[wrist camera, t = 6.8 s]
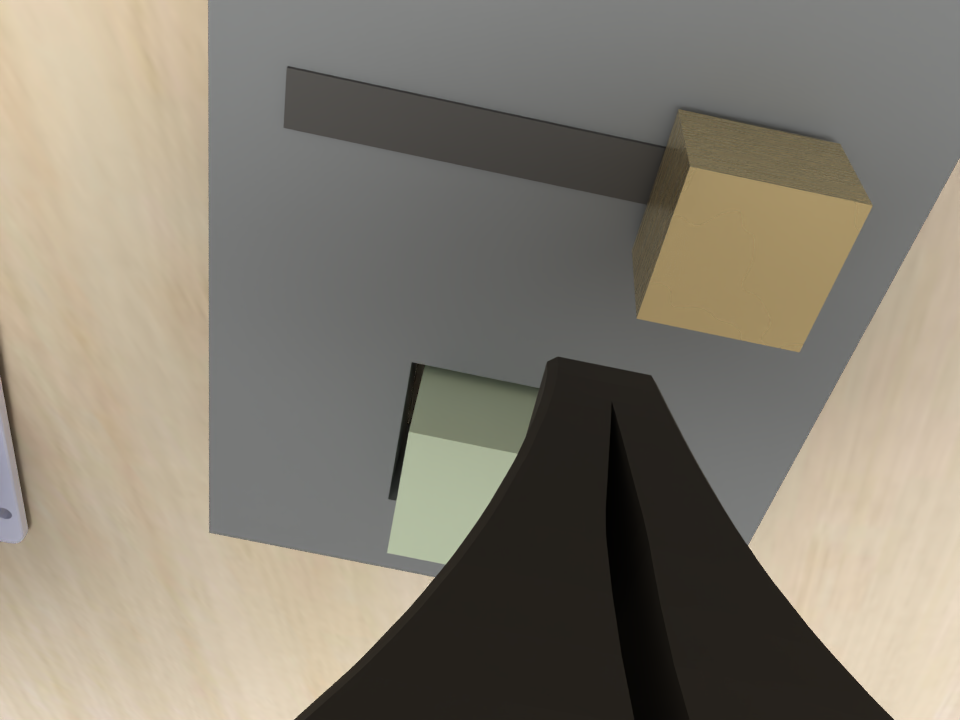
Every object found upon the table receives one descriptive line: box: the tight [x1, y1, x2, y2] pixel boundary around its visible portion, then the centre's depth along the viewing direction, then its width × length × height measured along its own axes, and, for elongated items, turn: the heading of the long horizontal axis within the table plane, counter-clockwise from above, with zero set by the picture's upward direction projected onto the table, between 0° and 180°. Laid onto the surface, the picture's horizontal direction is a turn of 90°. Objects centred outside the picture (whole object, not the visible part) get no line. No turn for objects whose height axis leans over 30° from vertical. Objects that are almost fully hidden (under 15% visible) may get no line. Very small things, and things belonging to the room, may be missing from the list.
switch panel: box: [208, 0, 960, 577], centre depth 18 cm, size 26×14×4 cm, turn 170°
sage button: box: [387, 365, 539, 564], centre depth 22 cm, size 4×4×3 cm
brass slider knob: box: [632, 109, 873, 352], centre depth 16 cm, size 3×3×2 cm
